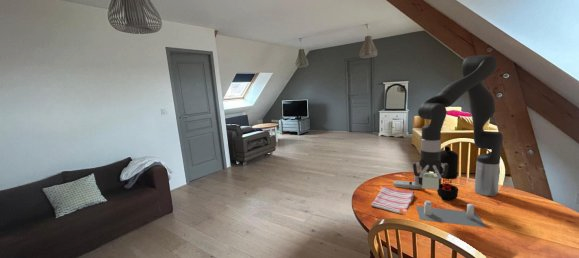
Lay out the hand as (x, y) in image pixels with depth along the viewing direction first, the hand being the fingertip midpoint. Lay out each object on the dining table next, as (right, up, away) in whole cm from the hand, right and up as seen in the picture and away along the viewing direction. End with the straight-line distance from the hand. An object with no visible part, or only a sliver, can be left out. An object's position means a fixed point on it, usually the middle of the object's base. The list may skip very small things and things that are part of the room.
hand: (429, 185), depth 105 cm
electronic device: (+7, -10, +35) cm, 37 cm away
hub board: (+9, -15, 0) cm, 17 cm away
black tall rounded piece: (+19, -12, +16) cm, 27 cm away
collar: (0, 0, 0) cm, 0 cm away
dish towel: (-7, -14, +19) cm, 25 cm away
